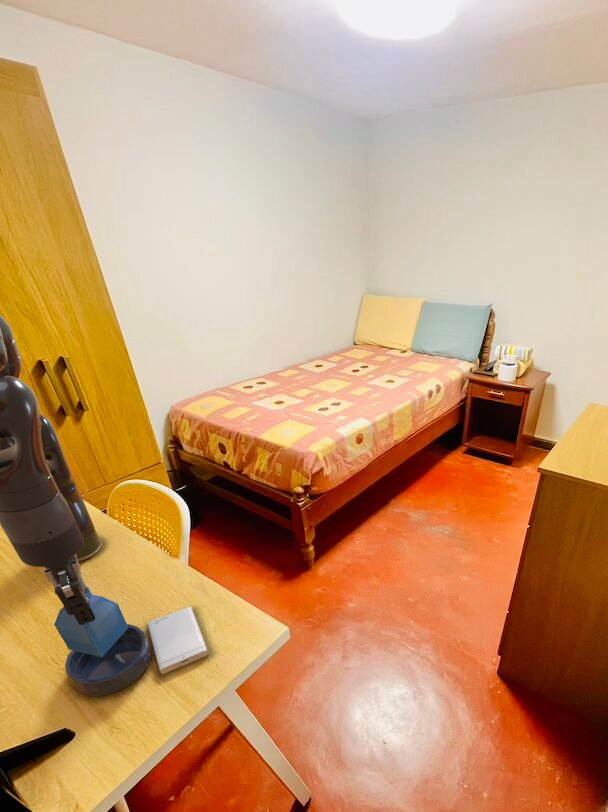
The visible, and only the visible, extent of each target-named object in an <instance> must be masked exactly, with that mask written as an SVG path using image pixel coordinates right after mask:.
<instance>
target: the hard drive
mask: <svg viewBox="0 0 608 812" xmlns="http://www.w3.org/2000/svg"><path fill="white" fill-rule="evenodd" d="M147 627H148V631H149V635H150V638H151V642H152V647H153V650H154V654H155V659H156V661H157V666H158V669H159V672H160V674H161V675H164V674H167V673H169V672H172V671H174V670H176V669H179V668H181V667H184V666H185V665H188V664H190V663H193V662H195V661H197V660H200V659H202V658H204V657H207V656H208V655H209V650H208V647H207V644H206V642H205V639H204V636H203V634H202V632H201V629H200V626H199V624H198V620H197V618H196V616H195V613H194V610H193V607H192V606H187V607H185V608H182V609H180V610H177V611H174V612H172V613H169V614H166V615H163V616H161V617H158V618H156V619H153V620H151V621H148V622H147Z"/></svg>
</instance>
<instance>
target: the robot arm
mask: <svg viewBox="0 0 608 812" xmlns="http://www.w3.org/2000/svg"><path fill="white" fill-rule="evenodd" d="M22 368H23V361H22V357H21V353H20V351H19V348H18V346H17V342H16V338H15V336H14V334H13V331H12V328H11V326H10V325H9V323H8V322H7V320H6V319H5V318H4V317H3V316H2V315H1V314H0V527H1V529H2V530H3V532H4V534H5V535H6V537H7V539H8V540H9V542H10V544H11V545H12V547H13V550H14V551H15V553H16V554H17V556H18V558H19V559H20V561H21V562H22V563H23V564H25V565H27V566H29V567H34V568H40V567H41V568H45V569H44V570H43V572H44V575H45V577H46V579H47V581H48V582H51V585H52V586H53V589H54V591H53V592H54V595H56V596H57V597H58V599H59V601H60V602H61V604H62V605H63V607H65V609H66V610H67V613H68V614H69V615H73V614H74V616H75V618H76V620H77V622H78V624H79V625H84V624H85V623H89V622H91V621H93V620H95V615H94V613H93V611H92V609H91V607H90V605H89V602H88V601H89V599H88V598H87V597H86V595H85V593H84V590H85V588H86V587H87V586H85V584H86V582H85V581H84V578H83V576H82V572H81V566H80V562H82V561H85V560H87V559H90V558H92V557H93V556H94V555H96V554H97V553H99V552H100V550H101V549H102V546H103V542H102V540H101V539H100V537H99V534H98V532H97V530H96V527H95V525H94V523H93V521H92V518H91V516H90V513H89V511H88V508H87V506H86V504H85V501H84V499H83V497H82V494H81V493H80V490H79V488H78V485H77V483H76V481H75V479H74V476H73V474H72V471H71V469H70V467H69V464H68V461H67V459H66V457H65V454H64V451H63V447H62V444H61V442H60V439H59V437H58V434H57V432H56V429H55V428H54V426H53V424H52V423H51V421H50V420H49V419H48V418H47V417H46V416H45V415H43V414H41V412H40V404H39V400H38V398H37V396H36V393H35V392H34V391H33V389H31V388H30V386H29V385H27V384H26V383H25V382H24V381H23V380H21V379H20V376H21V373H22ZM77 581H79V584H78V583H77Z"/></svg>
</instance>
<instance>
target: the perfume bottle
mask: <svg viewBox="0 0 608 812" xmlns="http://www.w3.org/2000/svg"><path fill="white" fill-rule="evenodd" d="M77 583H78V584H79V581H77ZM85 586H86V583H85ZM84 593H85V595H86V597H87V598H88V599H89V601H88V602H89V605H90V607H91V609H92V611H93V613H94V615H95V620H93V621H91V622H89V623H85V624H84V625H79V624H78V622H77V620H76V618H75V616H74V614H73V615H69V614H68V613H67V610H66V609H65V607H64V606H63V607H61V608H60V609H59V611H58V613H57V616H56V619H55V621H54V624H53V625H54V627H55V629H56V631H57V632H58V634H59V636H60V637H61V639H62V641H63V642H64V644H65V646H66V647H67V650H69V651H72V650H73V651H78V652H82V653H86V654H90V655H94V656H99V657H103V656H104V655H105V654H106V652H107V651H108V650H109V649H110V648H111V647H112V646H113V645H114V643H115V642H116V641H117V640H118V639H119V638H120V637H121V636H122V635H123V633H124V632H125V631H126V630H127V629H128V626H127V624H128V623H127V622H126V619H125V616H124V614H123V613H122V610H121V608H120V605H119V604H118V603H117V602H115V601H113V600H111V599H108V598H106V597H104V596H101V595H97V594H92V592H91V589H90V588H89V587H88V586H86V588H85V590H84Z"/></svg>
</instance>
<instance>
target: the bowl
mask: <svg viewBox="0 0 608 812" xmlns="http://www.w3.org/2000/svg"><path fill="white" fill-rule="evenodd" d="M127 626H128V629H127V630H126V631H125V632H124V633H123V635H122V636H121V637H120V638H119V639H118V640H117V641H116V642H115V643H114V645H113V646H112V647H111V648H110V649H109V650H108V651H107V652H106V654H105V655H104V656H103V657H99V656H94V655H90V654H86V653H82V652H78V651H73V650H70V652H69V654H68V655H67V657H66V661H65V664H64V668H65V673H66V675H67V677H68V679H69V680H70V682H71V684H72V685H73V686H74V688H75V689H76V690H77V691H78V692H79V693H80V694H83V695H86V696H88V697H102V696H106V695H111V694H114V693H117V692H119V691H121V690H123V689H126V688H127V687H129V686H130V685H132V684H133V683H134V682H135V681H137V680H138V679H139V678H141V676H142V675H143V673H145V671H146V670H147V668H148V666H149V665H150V663H151V660H152V648H151V646H150V643H149V641H148V638H147V636H146V633H145V631H143V629H141V628H140V627H139V626H136V625H134V624H130V623H127Z"/></svg>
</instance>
